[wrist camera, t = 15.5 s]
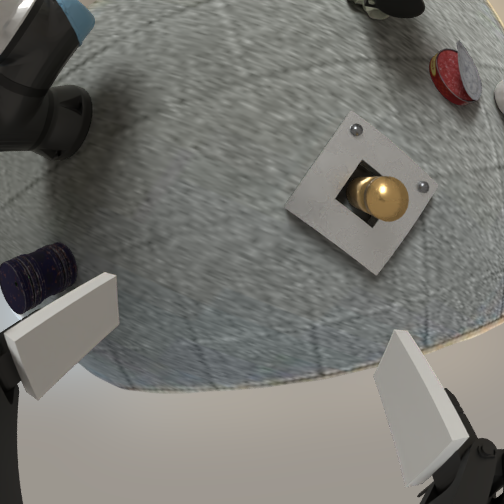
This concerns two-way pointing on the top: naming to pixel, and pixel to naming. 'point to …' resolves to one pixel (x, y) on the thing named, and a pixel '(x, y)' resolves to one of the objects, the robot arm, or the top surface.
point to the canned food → (456, 75)
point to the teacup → (500, 95)
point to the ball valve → (392, 8)
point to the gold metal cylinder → (379, 197)
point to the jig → (337, 174)
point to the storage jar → (37, 276)
